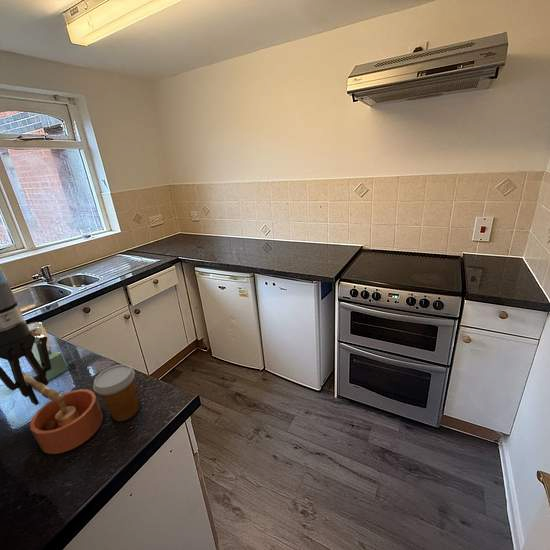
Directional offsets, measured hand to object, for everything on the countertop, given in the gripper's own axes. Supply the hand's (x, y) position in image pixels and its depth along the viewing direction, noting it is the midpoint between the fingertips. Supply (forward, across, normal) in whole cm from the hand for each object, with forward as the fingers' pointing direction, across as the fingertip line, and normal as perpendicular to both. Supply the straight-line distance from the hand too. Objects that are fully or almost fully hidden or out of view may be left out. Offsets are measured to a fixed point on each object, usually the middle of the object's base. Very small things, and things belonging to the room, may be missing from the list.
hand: (40, 399), depth 82 cm
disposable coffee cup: (+3, +9, -23) cm, 25 cm away
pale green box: (+3, +10, +14) cm, 17 cm away
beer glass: (+3, +11, +23) cm, 26 cm away
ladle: (+2, 0, -4) cm, 4 cm away
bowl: (+3, 0, -15) cm, 16 cm away
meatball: (+1, -3, -12) cm, 12 cm away
